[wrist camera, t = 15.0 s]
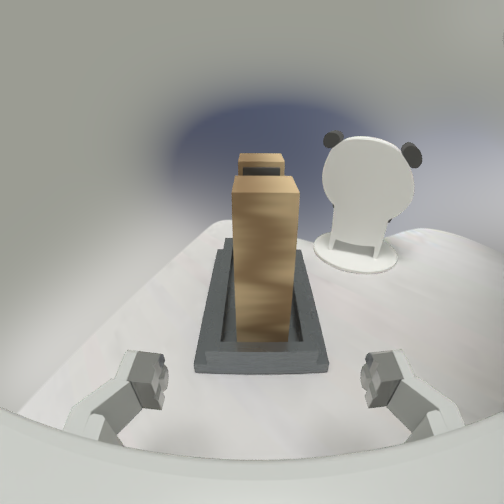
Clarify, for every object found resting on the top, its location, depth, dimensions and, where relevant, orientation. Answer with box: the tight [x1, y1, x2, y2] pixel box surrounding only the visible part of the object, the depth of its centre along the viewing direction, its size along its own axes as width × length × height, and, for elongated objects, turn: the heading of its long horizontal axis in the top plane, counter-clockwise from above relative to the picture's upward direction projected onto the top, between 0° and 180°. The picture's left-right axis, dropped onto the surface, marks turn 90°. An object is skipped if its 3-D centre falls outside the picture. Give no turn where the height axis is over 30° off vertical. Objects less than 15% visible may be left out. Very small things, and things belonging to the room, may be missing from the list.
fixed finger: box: [238, 153, 285, 176], centre depth 30 cm, size 4×4×12 cm
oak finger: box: [232, 176, 300, 342], centre depth 23 cm, size 4×4×12 cm
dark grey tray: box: [194, 238, 329, 374], centre depth 29 cm, size 10×18×2 cm, turn 179°
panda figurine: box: [314, 130, 422, 274], centre depth 35 cm, size 12×11×15 cm
